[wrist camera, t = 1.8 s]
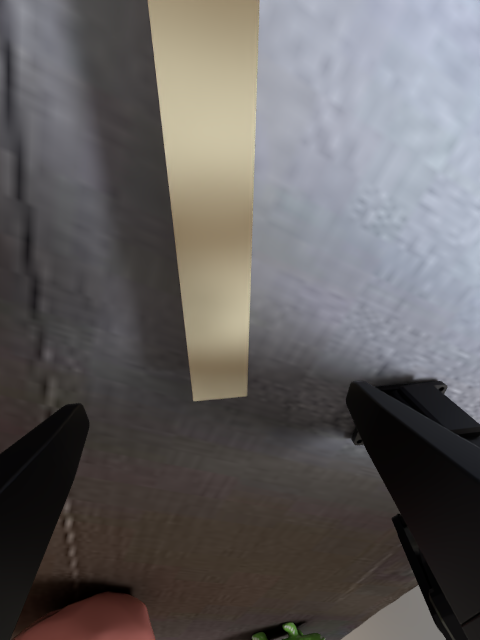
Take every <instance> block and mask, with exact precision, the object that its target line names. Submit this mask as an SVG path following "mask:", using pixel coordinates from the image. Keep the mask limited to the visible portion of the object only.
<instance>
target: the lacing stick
mask: <svg viewBox="0 0 480 640" xmlns="http://www.w3.org/2000/svg"><path fill="white" fill-rule="evenodd" d="M148 8H149V16H150V25H151V34H152V43H153V51H154V60H155V69H156V78H157V87H158V95H159V104H160V113H161V122H162V130H163V139H164V148H165V157H166V165H167V174H168V183H169V192H170V201H171V209H172V218H173V227H174V236H175V244H176V253H177V262H178V271H179V279H180V288H181V297H182V306H183V315H184V323H185V332H186V341H187V350H188V358H189V367H190V376H191V385H192V393H193V401H203V400H213V399H224V398H234V397H245V396H247V379H248V347H249V315H250V284H251V252H252V220H253V188H254V157H255V125H256V93H257V61H258V30H259V0H148Z"/></svg>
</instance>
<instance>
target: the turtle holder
mask: <svg viewBox="0 0 480 640" xmlns="http://www.w3.org/2000/svg"><path fill="white" fill-rule="evenodd" d="M283 629H284V630H285V631H287V632H288V635H289V637H288V638H286V639H282V640H325V638H324V637H322V636H321V635H320V634H318V633H312V634H308V635H303V634H302V632H301V631H300V630H297V629H296V626H295V625H294V623H291V622H289V623H285V624H283ZM252 640H270V639H267V637H266V635H265V633H264V632H259V633H256V634H254V635H252Z"/></svg>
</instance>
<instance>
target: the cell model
mask: <svg viewBox="0 0 480 640" xmlns="http://www.w3.org/2000/svg"><path fill="white" fill-rule="evenodd" d="M12 640H156V639H155V636H154V633H153V630H152V627H151V623H150V619H149V615H148V610H147V608H146V606H145V604H144V603H143V602H142V601H140V600H139V599H137V598H135V597H133V596H132V595H129V594H125V593H119V592H103V593H98V594H95V595H93V596H91V597H89V598H87V599H84V600H81V601H77V602H74V603H72V604H70V605H68V606H66V607H64V608H62V609H58V610H55V611H52V612H50V613H48V614H46V615H44V616H42V617H40V618H39V619H38V620H36V621H35V622H33V623H32V624H31V625H29V626H28V627H27V628H25V629H24V630H23V631H22V632H20V633H19V634H18V635H16V636H15V637H14V638H13V639H12Z"/></svg>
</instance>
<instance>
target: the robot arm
mask: <svg viewBox="0 0 480 640" xmlns="http://www.w3.org/2000/svg"><path fill="white" fill-rule="evenodd" d="M446 389H447V385H445V384H444V383H443V382H442V381H436V382H424V383H413V384H401V385H389V386H378V387H374V386H372V385H370V384H368V383H367V382H365V381H354V382H352V383H351V384H350V387H349V390H348V393H347V397H346V404H347V406H348V409H349V411H350V414H351V416H352V418H353V421H354V423H355V425H356V428H355V430H354V433H353V436H352V439H351V440H352V441H353V443H354V444H355V445H364V446H365V448H366V450H367V452H368V454H369V456H370V458H371V459H372V461H373V463H374V465H375V467H376V469H377V471H378V472H379V474H380V476H381V478H382V480H383V482H384V484H385V485H386V487H387V489H388V491H389V493H390V495H391V496H392V498H393V500H394V502H395V504H396V506H397V508H398V509H399V511H400V513H401V514H397V515H396V516H394V517H392V521H393V524H394V526H395V528H396V531H397V533H398V537H399V539H400V542H401V544H402V546H403V549H404V551H405V554H406V556H407V558H408V561H409V563H410V565H411V568H412V570H413V573H414V575H415V577H416V580H417V582H418V585H419V587H420V589H421V592H422V594H423V596H424V599H425V601H426V604H427V606H428V608H429V611H430V613H431V616H432V618H433V620H434V622H435V624H436V626H437V627H438V629H439V630H440V631H441V632H442V633H443V635H444V637H445V638H446V640H480V424H479V423H477V422H476V421H475V420H474V419H473V418H472V417H470V416H469V415H468V414H467V413H466V412H464V411H463V410H462V409H461V408H460V407H458V406H457V405H456V404H455V403H454V402H452V401H451V400H450V399H449V398H448V397H447V396H445V395H444V393H445V391H446ZM88 430H89V419H88V417H87V414H86V412H85V409H84V407H83V405H82V404H80V403H76V404H67V405H65V406H63V407H62V408H61V409H59V410H58V411H57V412H55V413H54V414H53V415H51V416H50V417H49V418H47V419H46V420H45V421H43V422H42V423H41V424H39V425H38V426H37V427H35V428H34V429H33V430H31V431H30V432H29V433H27V434H26V435H25V436H23V437H22V438H21V439H20V440H18V441H17V442H16V443H14V444H13V445H12V446H10V447H9V448H8V449H6V450H5V451H4V452H2V453H1V454H0V640H10V638H11V636H12V633H13V631H14V629H15V626H16V624H17V621H18V619H19V616H20V614H21V611H22V609H23V606H24V604H25V601H26V599H27V596H28V594H29V591H30V589H31V586H32V584H33V581H34V579H35V576H36V574H37V571H38V569H39V566H40V564H41V561H42V559H43V556H44V554H45V551H46V549H47V546H48V544H49V541H50V539H51V536H52V534H53V531H54V529H55V526H56V524H57V521H58V519H59V516H60V514H61V511H62V509H63V506H64V504H65V501H66V499H67V496H68V494H69V491H70V489H71V486H72V484H73V481H74V478H75V475H76V472H77V468H78V465H79V461H80V458H81V454H82V451H83V447H84V444H85V441H86V437H87V434H88Z"/></svg>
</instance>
